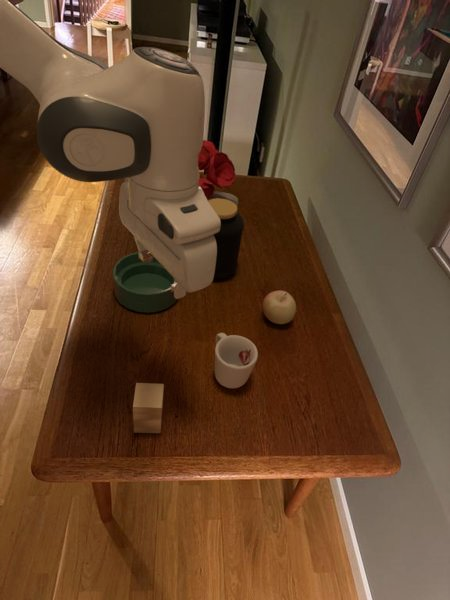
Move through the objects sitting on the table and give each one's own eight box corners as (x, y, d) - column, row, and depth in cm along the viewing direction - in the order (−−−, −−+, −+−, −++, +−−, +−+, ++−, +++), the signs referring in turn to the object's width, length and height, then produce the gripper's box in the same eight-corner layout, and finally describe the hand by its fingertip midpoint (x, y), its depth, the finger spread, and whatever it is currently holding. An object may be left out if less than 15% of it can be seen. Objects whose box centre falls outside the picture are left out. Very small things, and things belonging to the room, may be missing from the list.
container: (179, 265, 102) (184, 202, 90) (212, 248, 109) (220, 188, 97) (214, 290, 97) (224, 227, 85) (245, 270, 104) (258, 209, 92)
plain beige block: (133, 432, 68) (132, 406, 62) (136, 409, 71) (136, 382, 65) (160, 433, 68) (161, 407, 63) (162, 410, 71) (163, 383, 66)
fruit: (291, 309, 95) (300, 284, 90) (291, 332, 90) (301, 306, 85) (260, 304, 95) (267, 278, 90) (258, 326, 90) (265, 300, 85)
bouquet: (197, 211, 135) (120, 180, 113) (238, 152, 125) (163, 105, 104) (226, 252, 123) (146, 225, 101) (274, 189, 113) (198, 145, 92)
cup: (197, 357, 81) (201, 330, 76) (232, 346, 85) (238, 320, 79) (221, 399, 75) (227, 373, 69) (258, 386, 78) (266, 360, 73)
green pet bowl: (119, 318, 86) (117, 298, 82) (110, 274, 96) (108, 254, 92) (186, 309, 91) (188, 289, 87) (171, 268, 101) (172, 249, 97)
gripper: (105, 165, 56) (111, 246, 65) (186, 241, 45) (179, 326, 54) (145, 158, 59) (145, 236, 68) (229, 228, 48) (216, 309, 58)
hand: (161, 276), depth 61 cm, fingers open, 8 cm apart
